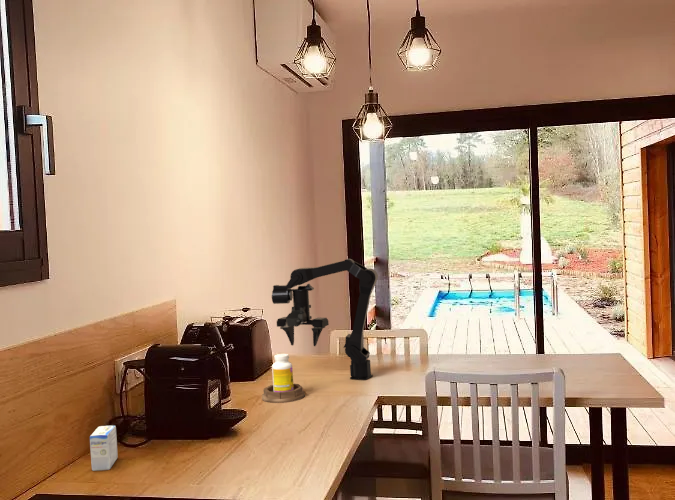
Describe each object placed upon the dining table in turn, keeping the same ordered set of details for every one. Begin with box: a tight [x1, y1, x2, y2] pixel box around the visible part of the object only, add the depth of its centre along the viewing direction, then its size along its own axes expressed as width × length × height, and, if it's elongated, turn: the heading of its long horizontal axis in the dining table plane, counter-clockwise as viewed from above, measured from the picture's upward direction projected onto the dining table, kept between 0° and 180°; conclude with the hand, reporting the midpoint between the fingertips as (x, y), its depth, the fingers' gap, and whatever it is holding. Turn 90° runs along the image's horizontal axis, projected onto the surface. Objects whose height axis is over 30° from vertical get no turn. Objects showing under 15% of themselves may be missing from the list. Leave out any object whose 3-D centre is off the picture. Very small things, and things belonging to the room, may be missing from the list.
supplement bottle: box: [271, 353, 294, 392], centre depth 221 cm, size 7×7×13 cm
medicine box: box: [89, 425, 118, 472], centre depth 166 cm, size 8×4×9 cm, turn 5°
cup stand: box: [261, 383, 305, 404], centre depth 222 cm, size 14×14×3 cm
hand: (303, 345), depth 246 cm, fingers open, 9 cm apart
